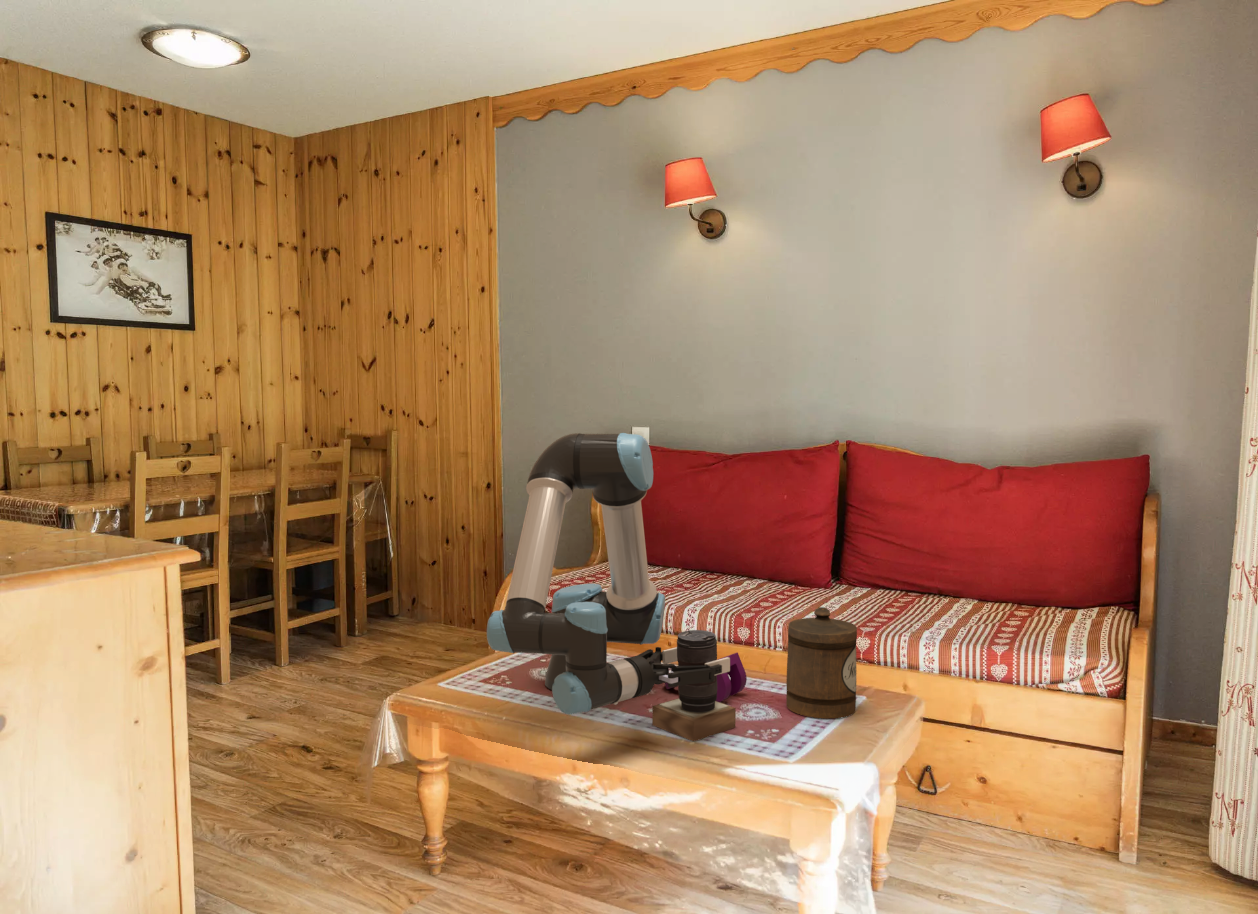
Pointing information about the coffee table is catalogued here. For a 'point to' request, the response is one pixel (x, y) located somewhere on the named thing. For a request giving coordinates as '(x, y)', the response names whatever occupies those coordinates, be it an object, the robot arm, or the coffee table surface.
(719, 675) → the mounting bracket
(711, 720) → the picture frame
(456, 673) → the coffee table surface
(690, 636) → the camera lens
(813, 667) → the wooden container
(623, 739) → the coffee table surface
